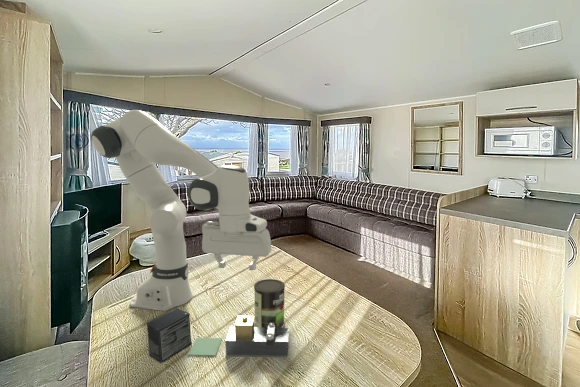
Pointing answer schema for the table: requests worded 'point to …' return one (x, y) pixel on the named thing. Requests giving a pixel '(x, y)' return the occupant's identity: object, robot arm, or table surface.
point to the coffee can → (269, 303)
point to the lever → (270, 334)
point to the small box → (169, 334)
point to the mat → (205, 347)
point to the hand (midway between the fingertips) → (237, 268)
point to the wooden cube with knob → (244, 327)
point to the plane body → (258, 344)
